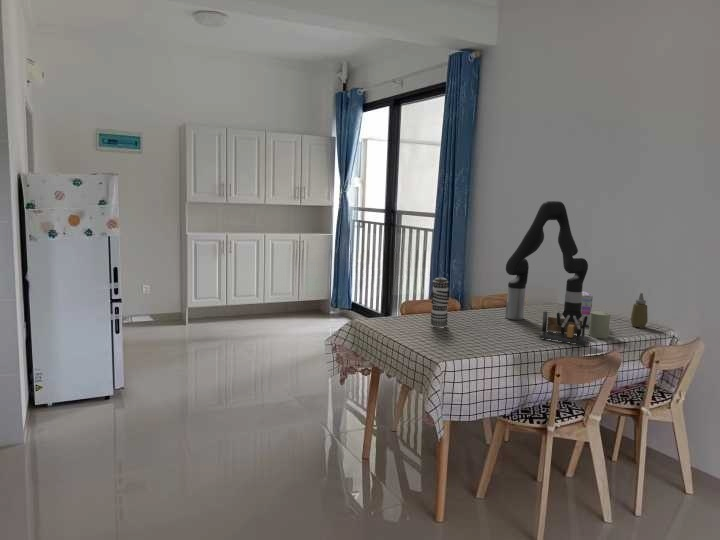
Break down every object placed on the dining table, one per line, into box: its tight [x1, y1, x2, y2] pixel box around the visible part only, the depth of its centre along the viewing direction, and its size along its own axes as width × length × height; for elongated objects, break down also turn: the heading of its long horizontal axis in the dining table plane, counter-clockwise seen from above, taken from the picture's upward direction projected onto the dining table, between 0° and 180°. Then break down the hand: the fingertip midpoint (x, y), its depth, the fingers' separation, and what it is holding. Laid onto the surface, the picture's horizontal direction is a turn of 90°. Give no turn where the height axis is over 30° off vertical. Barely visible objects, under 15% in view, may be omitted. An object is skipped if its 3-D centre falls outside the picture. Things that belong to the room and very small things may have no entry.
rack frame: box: [541, 310, 586, 337], centre depth 278 cm, size 20×2×10 cm, turn 63°
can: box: [588, 310, 611, 339], centre depth 275 cm, size 9×9×12 cm
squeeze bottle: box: [630, 292, 648, 328], centre depth 294 cm, size 8×8×18 cm
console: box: [539, 330, 588, 347], centre depth 266 cm, size 20×9×2 cm, turn 63°
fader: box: [567, 324, 574, 338], centre depth 264 cm, size 2×5×5 cm, turn 153°
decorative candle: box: [430, 277, 450, 328], centre depth 286 cm, size 9×9×25 cm
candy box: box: [579, 290, 593, 327], centre depth 300 cm, size 14×6×16 cm, turn 168°
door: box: [546, 316, 582, 335], centre depth 277 cm, size 16×2×7 cm, turn 63°
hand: (570, 335), depth 265 cm, fingers open, 6 cm apart
